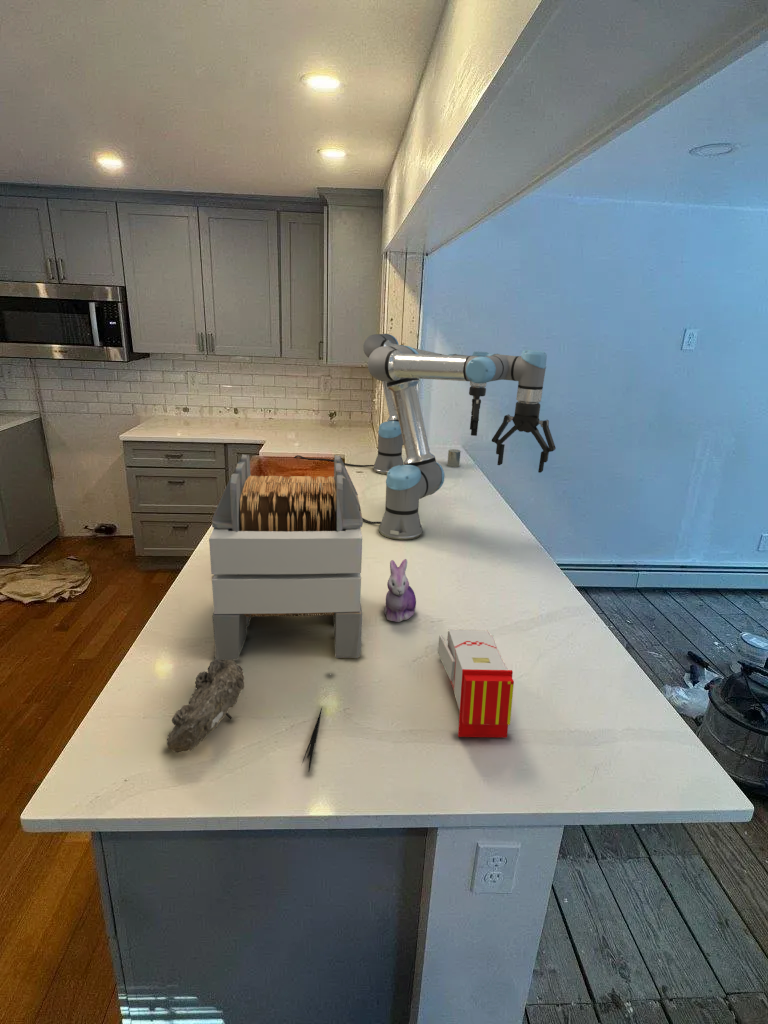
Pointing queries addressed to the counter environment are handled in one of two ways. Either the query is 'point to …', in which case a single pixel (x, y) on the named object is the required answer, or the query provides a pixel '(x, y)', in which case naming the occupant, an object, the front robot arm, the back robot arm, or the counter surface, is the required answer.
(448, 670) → the toy
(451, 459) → the can
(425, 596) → the counter surface
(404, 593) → the figurine
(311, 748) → the feather
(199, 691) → the fossil
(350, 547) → the record crate
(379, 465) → the back robot arm
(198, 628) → the counter surface
